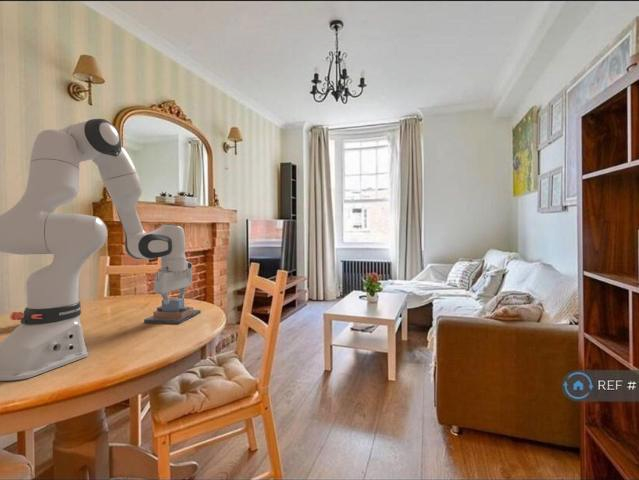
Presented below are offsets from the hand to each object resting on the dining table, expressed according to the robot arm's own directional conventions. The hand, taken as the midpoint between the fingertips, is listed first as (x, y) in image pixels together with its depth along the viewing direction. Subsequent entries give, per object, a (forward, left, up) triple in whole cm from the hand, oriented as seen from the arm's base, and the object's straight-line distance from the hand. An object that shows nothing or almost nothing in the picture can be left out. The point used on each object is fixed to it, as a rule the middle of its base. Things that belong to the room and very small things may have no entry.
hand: (174, 301), depth 131 cm
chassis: (0, +1, -7) cm, 6 cm away
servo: (0, +1, -5) cm, 5 cm away
